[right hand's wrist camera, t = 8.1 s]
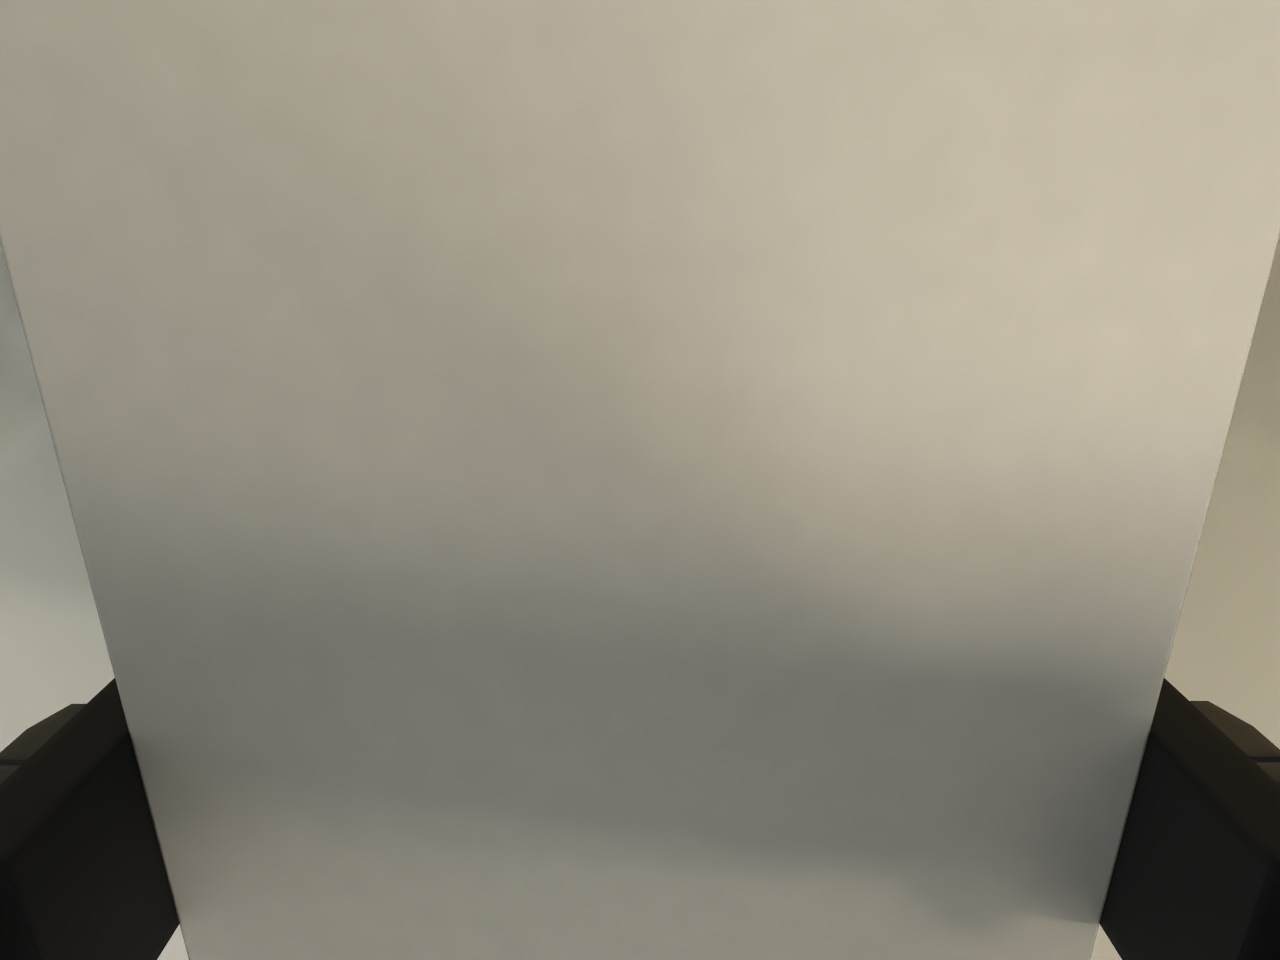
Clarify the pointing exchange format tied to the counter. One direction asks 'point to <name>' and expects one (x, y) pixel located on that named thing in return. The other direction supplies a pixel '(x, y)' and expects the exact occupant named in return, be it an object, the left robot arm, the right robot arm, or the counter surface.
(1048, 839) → the cabinet
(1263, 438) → the counter surface
